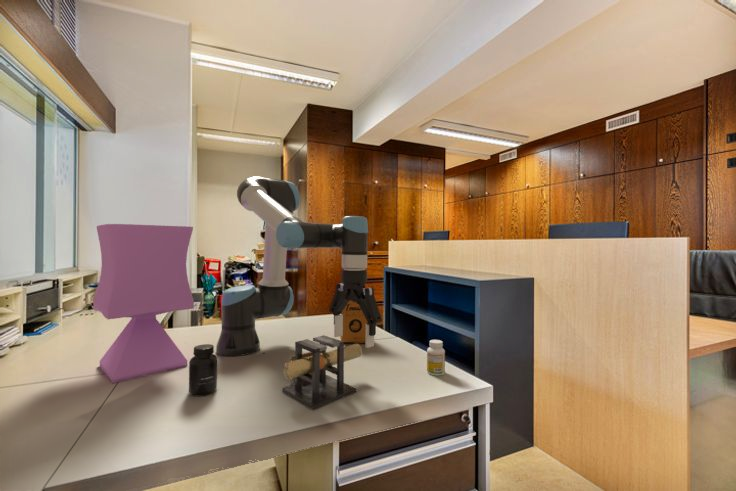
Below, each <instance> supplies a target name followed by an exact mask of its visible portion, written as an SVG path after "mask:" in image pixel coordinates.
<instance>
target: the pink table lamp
mask: <svg viewBox="0 0 736 491" xmlns="http://www.w3.org/2000/svg"><path fill="white" fill-rule="evenodd" d="M193 230H194V226H182V225H181V226H180V225H159V224H158V225H155V224H152V225H151V224H131V223H129V224H127V223H126V224H125V223H105V224H104V223H103V224H100V225H96V231H97V232H96V233H97V236H98V240H99V241H98V242H99V247H100V254H101V267H100V270H101V271H100V275H99V276H100V277H99V281H98V285H97V288H96V291H95V293H94V297H93V310H94V311H97V312H100V313H101V315H102V316H103V317H104V318H105V319H107V320H113V319H121V318H123V319H124V318H131V319H130V320H129V321H128V323H127V324H126V325H125V327H124V328H123V329H122V330H121V332H120V333H119V334H118V335H117V338H115V340H114V342H113V343H112V344H111V345H110V346H109V348H108V349H107V351H106V352H105V353H104V355H103V356H102V357H101V359H100V360H99V367H100V368H101V370H102V371H103V373H104V374H105V376H106V377H107V378H108V379H109V381H110V382H111V383H112V384H117V383H121V382H125V381H129V380H134V379H137V378H142V377H145V376H150V375H154V374H159V373H162V372H166V371H172V370H175V369H179V368H184V367H187V366H188V359H187V358H186V357H185V355H184V353H183V352H181V349H179V347H178V346H177V344H176V343H175V342H174V340H173V339H172V338H171V337H170V335H169V334H168V333H167V331H166V330H165V328H164V327H163V326H162V325H161V323H160V321H159V320H158V319H157V315H158V316H159V315H162V314H166V313H170V312H175V311H184V310H192V309H193V310H194V306H195V305H194V304H195V303H194V301H195V299H194V297H193V293H192V290H191V287H190V282H189V278H188V274H187V273H188V271H187V260H188V259H187V257H188V251H189V247H190V240H191V239H192V234H193Z"/></svg>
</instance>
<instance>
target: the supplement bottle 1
mask: <svg viewBox="0 0 736 491" xmlns="http://www.w3.org/2000/svg"><path fill="white" fill-rule="evenodd" d="M214 347H215V346H214V345H213V344H212V343H211V344H209V343H205V344H199V345H195V346H194V347H193V352H192V353H193V357H191V358H190V360H189V365H188V393H189V395H190V396H194V397H202V396H203V397H205V396H209V395H210V394H213V393H215V391H216V390H217V388H218V387H217V386H218V357H217V356H216V354H214V353H215V349H214Z"/></svg>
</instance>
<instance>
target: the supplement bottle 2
mask: <svg viewBox="0 0 736 491" xmlns="http://www.w3.org/2000/svg"><path fill="white" fill-rule="evenodd" d="M443 343H444V342H443V341H442V340H440V339H431V340H429V347H427V350H426V371H427V373H428V374H429V375H431V376H434V377H435V376H436V377H437V376H438V377H439V376H443V375H445V374H446V373H445V372H446V368H445V367H446V363H445V362H446V350H445V349H444V348H443V346H444V344H443Z"/></svg>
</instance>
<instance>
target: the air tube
mask: <svg viewBox="0 0 736 491" xmlns="http://www.w3.org/2000/svg"><path fill="white" fill-rule="evenodd" d="M362 354H363V348H362V346H361V345H360V343H353V344H350V345H348V346H347V345H346V346H344V363H345V362H348V361H351V360H355V359H357V358H361V357H362ZM335 365H336V366H337V348H336V349H332V350H328V351H326V352H324V353H321V354H320V370H322V369H323V368H327V367H330V366H333V367H334V366H335ZM311 372H312V356H310V357H306V358H302V359H299V360H295V361H288V362H285V363H284V365H283V375H284V377H285V378H286V379H287V380H291V379H294V378H295V377H298V376H301V375H305V374H308V373H311Z"/></svg>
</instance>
